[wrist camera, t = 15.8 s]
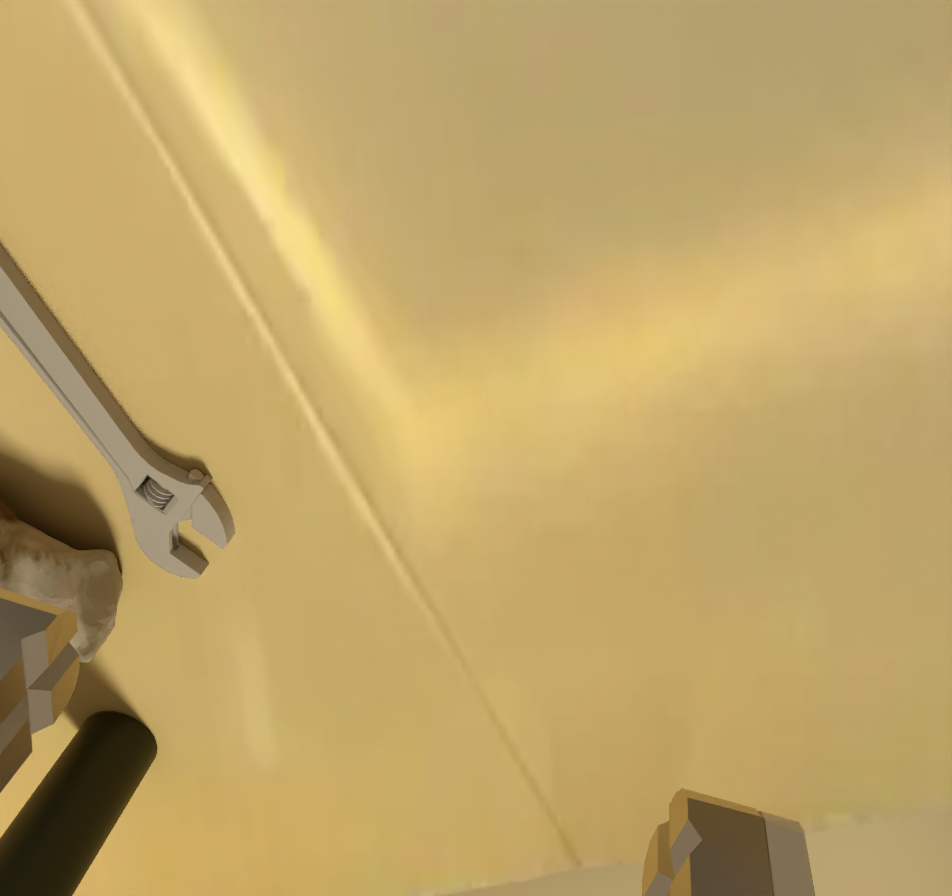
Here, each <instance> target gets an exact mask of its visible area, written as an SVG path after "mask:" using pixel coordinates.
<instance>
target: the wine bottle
mask: <svg viewBox="0 0 952 896" xmlns="http://www.w3.org/2000/svg"><path fill="white" fill-rule="evenodd" d="M156 754H157V745H156V742H155V739H154V737H153V736H152V734H151V733H150V732H149V731H148V729H147V728H146V727H144V726H143V725H142V724H141V723H139V722H138V721H136V720H135V719H133V718H131V717H129V716H126V715H124V714H120V713H116V712H99V713H96V714H93V715H92V716H90V717H89V718H88V719H87V720H86V721H85V722H84V724H83V725H82V727H81V728H80V729H79V731H78V732H77V734H76V735H75V736H74V738H73V739H72V740H71V742H70V743H69V745H68V746H67V747H66V749H65V750H64V751H63V753H62V754H61V756H60V757H59V758H58V760H57V761H56V762H55V764H54V765H53V767H52V768H51V769H50V771H49V772H48V773H47V775H46V776H45V778H44V779H43V780H42V782H41V783H40V784H39V786H38V787H37V789H36V790H35V791H34V793H33V794H32V795H31V797H30V798H29V800H28V801H27V802H26V804H25V805H24V807H23V808H22V809H21V811H20V812H19V813H18V815H17V816H16V818H15V819H14V820H13V822H12V823H11V824H10V826H9V827H8V829H7V830H6V831H5V833H4V834H3V835H2V837H1V838H0V896H72V895H73V893H74V892H75V890H76V888H77V887H78V885H79V883H80V882H81V880H82V878H83V877H84V875H85V874H86V872H87V870H88V869H89V867H90V865H91V864H92V862H93V860H94V859H95V857H96V855H97V854H98V852H99V850H100V849H101V847H102V845H103V844H104V842H105V840H106V839H107V837H108V835H109V834H110V832H111V830H112V829H113V827H114V825H115V824H116V822H117V820H118V819H119V817H120V815H121V814H122V812H123V810H124V809H125V807H126V805H127V804H128V802H129V801H130V799H131V797H132V796H133V794H134V792H135V791H136V789H137V787H138V786H139V784H140V782H141V781H142V779H143V777H144V776H145V774H146V772H147V771H148V769H149V767H150V766H151V764H152V762H153V761H154V759H155V757H156Z"/></svg>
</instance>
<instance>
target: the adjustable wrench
mask: <svg viewBox="0 0 952 896" xmlns="http://www.w3.org/2000/svg"><path fill="white" fill-rule="evenodd" d="M0 326H1V328H2V329H3V330H4V331H5V333H6V334H7V335H8V336H9V338H10V339H11V340H12V341H13V343H14V344H15V345H16V347H17V348H18V349H19V350H20V352H21V353H22V354H23V355H24V357H25V358H26V359H27V360H28V362H29V363H30V364H31V366H32V367H33V368H34V369H35V371H36V372H37V373H38V374H39V376H40V377H41V378H42V379H43V381H44V382H45V383H46V385H47V386H48V387H49V388H50V390H51V391H52V392H53V393H54V395H55V396H56V397H57V398H58V400H59V401H60V402H61V404H62V405H63V406H64V407H65V409H66V410H67V411H68V412H69V414H70V415H71V416H72V417H73V419H74V420H75V421H76V422H77V424H78V425H79V426H80V428H81V429H82V430H83V431H84V433H85V434H86V435H87V436H88V438H89V439H90V440H91V441H92V443H93V444H94V445H95V447H96V448H97V449H98V450H99V452H100V453H101V454H102V455H103V457H104V458H105V459H106V460H107V462H108V463H109V465H110V466H111V468H112V469H113V471H114V473H115V475H116V477H117V479H118V481H119V483H120V486H121V488H122V491H123V494H124V497H125V499H126V502H127V506H128V509H129V512H130V516H131V521H132V525H133V529H134V534H135V538H136V540H137V542H138V544H139V546H140V548H141V549H142V551H143V552H144V554H145V555H146V556H147V557H148V558H149V559H150V560H151V561H153V562H154V563H155V564H156V565H157V566H159V567H160V568H162V569H164V570H166V571H167V572H170V573H172V574H175V575H178V576H180V577H186V578H197V577H199V576H200V575H201V574H202V573H203V571H204V570H205V568H206V567H207V566H208V564H209V563H208V562H207V561H205V560H204V559H202V558H201V557H199V556H198V555H197V554H195V553H194V552H192V551H191V550H189V549H188V548H187V547H185V546H184V545H182V544H181V543H179V536H178V522H181V521H184V520H190V519H192V527H193V528H194V529H195V530H197V531H198V532H200V533H201V534H202V535H204V536H205V537H207V538H208V539H209V540H211V541H212V542H214V543H215V544H216V545H218V546H219V547H221V548H222V549H223V548H224V547H225V546H226V545H227V544H228V542H229V541H230V540H231V538H232V537H233V536H234V534H235V527H234V522H233V519H232V516H231V513H230V511H229V509H228V507H227V505H226V503H225V502H224V500H223V499H222V497H221V496H220V495H219V493H218V492H217V491H216V490H215V488H214V487H213V486H212V485H211V484H210V483H209V482H210V481H211V480H212V477H210V476H208V475H203V474H202V473H201V471H199V470H197V469H193V470H191V471H190V472H188V471H186V470H184V469H182V468H180V467H178V466H176V465H174V464H172V463H170V462H168V461H167V460H165V459H164V458H162V457H161V456H160V455H158V454H157V453H156V452H155V451H154V450H153V449H152V448H151V447H150V446H149V445H148V444H147V443H146V441H145V440H144V439H143V438H142V437H141V435H140V434H139V432H138V431H137V430H136V428H135V427H134V426H133V424H132V423H131V422H130V420H129V419H128V417H127V416H126V415H125V413H124V412H123V411H122V409H121V408H120V407H119V405H118V404H117V402H116V401H115V400H114V398H113V397H112V396H111V394H110V393H109V392H108V390H107V389H106V388H105V386H104V385H103V383H102V382H101V381H100V379H99V378H98V377H97V375H96V374H95V373H94V371H93V370H92V368H91V367H90V366H89V364H88V363H87V362H86V360H85V359H84V358H83V356H82V355H81V353H80V352H79V351H78V349H77V348H76V347H75V345H74V344H73V343H72V341H71V340H70V338H69V337H68V336H67V334H66V333H65V332H64V330H63V329H62V328H61V326H60V325H59V323H58V322H57V321H56V319H55V318H54V317H53V315H52V314H51V313H50V311H49V310H48V309H47V307H46V306H45V304H44V303H43V302H42V300H41V299H40V298H39V296H38V295H37V294H36V292H35V291H34V289H33V288H32V287H31V285H30V284H29V283H28V281H27V280H26V279H25V277H24V276H23V274H22V273H21V272H20V270H19V269H18V268H17V266H16V265H15V264H14V262H13V261H12V259H11V258H10V257H9V255H8V254H7V253H6V251H5V250H4V249H3V247H2V246H1V245H0ZM148 476H150V477H151V478H150V479H149V480H148V482H147V483H145V482H144V481H145V479H146V478H147V477H148ZM205 487H206V488H205Z"/></svg>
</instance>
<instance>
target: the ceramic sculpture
mask: <svg viewBox="0 0 952 896" xmlns="http://www.w3.org/2000/svg"><path fill="white" fill-rule="evenodd" d="M122 585H123V581H122V577H121V573H120V571H119V568H118V563H117V559H116V557H115V555H114V553H113V552H111V551H109V550H105V549H95V550H76V549H73V548H71V547H70V546H68V545H66V544H64V543H63V542H60V541H58V540H56V539H54V538H52V537H50V536H48V535H46V534H45V533H43V532H41V531H40V530H38V529H36V528H34V527H32V526H30V525H28V524H26V523H25V522H23V521H21V520H19V519H17V517H16V516H15V514H14V513H13V512H12V511H11V510H10V509H9V508H8V507H7V506H6V505H5V504H4V503H3V502H2V501H1V500H0V588H1V589H4V590H7V591H10V592H14V593H17V594H20V595H23V596H26V597H29V598H32V599H35V600H38V601H42V602H45V603H48V604H51V605H54V606H57V607H60V608H63V609H66V610H69V611H72V612H74V613H76V619H77V628H78V632H77V633H76V634H75V635H74V636H73V638H72V639H71V640H70V641H69V642H70V643H71V645H72V646H73V647H74V649H75V650H76V651H77V653H78V654H79V660H80V662H86V663H87V662H89V661H91V660H92V659H93V658H94V656H95V654H96V652H97V651H98V650H99V648H100V647H101V646H102V645H103V643H104V642H105V640H106V639H107V637H108V636H109V634H110V633H111V631H112V629H113V628H114V626H115V616H116V612H117V604H118V601H119V598H120V594H121V591H122Z"/></svg>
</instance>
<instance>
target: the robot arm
mask: <svg viewBox="0 0 952 896" xmlns="http://www.w3.org/2000/svg"><path fill="white" fill-rule="evenodd" d="M77 632H78V628H77V619H76V613H74V612H72V611H69V610H66V609H63V608H60V607H57V606H54V605H51V604H48V603H45V602H42V601H38V600H35V599H32V598H29V597H26V596H23V595H20V594H17V593H14V592H10V591H7V590H4V589H1V588H0V793H1V791H2V790H3V789H4V787H5V786H6V785H7V784H8V782H9V781H10V780H11V778H12V777H13V776H14V775H15V773H16V772H17V771H18V769H19V768H20V767H21V765H22V764H23V763H24V762H25V760H26V759H27V758H28V756H29V755H30V754H31V753H32V736H31V734H33V733H35V732H37V731H39V730H41V729H44V728H46V727H48V726H50V725H52V724H54V722H55V721H56V720H57V718H58V717H59V716H60V714H61V713H62V711H63V710H64V709H65V707H66V706H67V704H68V702H69V700H70V697H71V695H72V693H73V691H74V689H75V687H76V685H77V680H78V675H79V670H80V660H79V654H78V653H77V651H76V650H75V649H74V647H73V646H72V645H71V643H70V642H69V641H70V640H71V639H72V638H73V636H74V635H75V634H76V633H77ZM642 896H815V891H814V886H813V880H812V874H811V869H810V863H809V858H808V851H807V846H806V840H805V834H804V830H803V828H802V827H801V825H800V823H799V822H796V821H793V820H790V819H786V818H783V817H779V816H776V815H773V814H769V813H766V812H762V811H757V810H756V809H755V808H751V807H748V806H744V805H740V804H737V803H733V802H730V801H726V800H722V799H719V798H715V797H712V796H708V795H704V794H701V793H697V792H694V791H690V790H686V789H683V788H682V789H681V790H679V791H678V792H676V794H675V796H674V797H673V799H672V801H671V803H670V804H669V821H668V822H665V823H663V824H661V825H658V826H657V828H656V830H655V832H654V835H653V837H652V839H651V841H650V843H649V847H648V851H647V855H646V858H645V862H644V871H643V879H642Z"/></svg>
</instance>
